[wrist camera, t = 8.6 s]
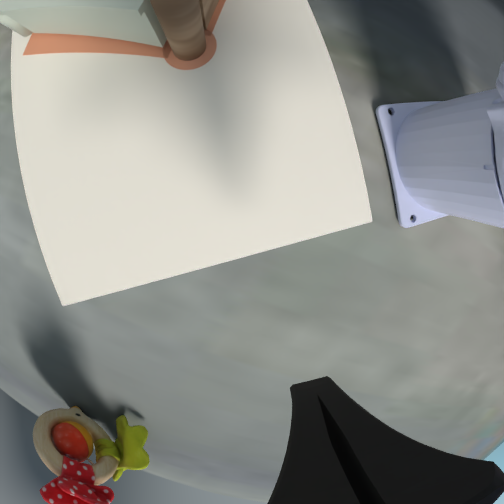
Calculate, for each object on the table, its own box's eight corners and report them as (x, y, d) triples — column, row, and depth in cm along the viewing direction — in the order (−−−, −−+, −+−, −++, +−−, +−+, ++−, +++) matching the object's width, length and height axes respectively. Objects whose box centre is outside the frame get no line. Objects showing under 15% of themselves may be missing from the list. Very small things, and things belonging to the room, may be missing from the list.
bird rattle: (81, 414, 23) (151, 476, 20) (-2, 458, 12) (78, 544, 10) (92, 374, 22) (173, 445, 19) (-9, 419, 11) (86, 527, 9)
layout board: (261, -81, 11) (261, -85, 11) (369, 220, 18) (372, 221, 17) (17, 3, 11) (15, 1, 11) (65, 303, 18) (62, 306, 17)
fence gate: (160, 51, 14) (137, 10, 9) (18, 37, 12) (-21, 15, 7) (173, 27, 13) (156, -18, 8) (29, 17, 11) (-6, -8, 7)
